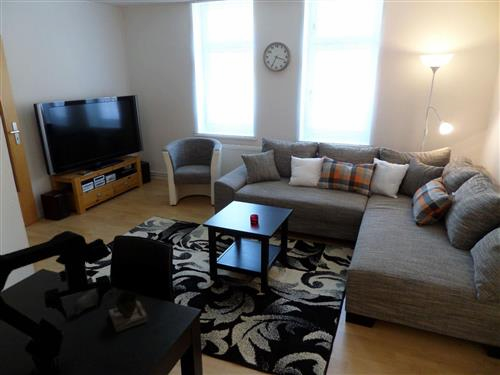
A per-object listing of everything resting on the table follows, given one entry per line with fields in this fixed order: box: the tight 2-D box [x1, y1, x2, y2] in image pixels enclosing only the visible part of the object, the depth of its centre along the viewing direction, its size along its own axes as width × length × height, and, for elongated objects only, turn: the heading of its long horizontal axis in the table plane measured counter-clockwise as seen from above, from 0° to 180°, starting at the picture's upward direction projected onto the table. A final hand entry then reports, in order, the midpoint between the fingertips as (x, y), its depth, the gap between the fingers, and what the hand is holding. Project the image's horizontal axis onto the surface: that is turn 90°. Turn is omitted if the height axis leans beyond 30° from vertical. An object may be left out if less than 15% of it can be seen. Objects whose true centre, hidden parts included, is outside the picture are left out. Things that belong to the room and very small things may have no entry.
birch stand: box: [109, 300, 149, 333], centre depth 125 cm, size 11×11×2 cm
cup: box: [114, 291, 138, 318], centre depth 124 cm, size 8×7×8 cm
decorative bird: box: [73, 279, 114, 316], centre depth 132 cm, size 5×16×7 cm, turn 152°
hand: (82, 313), depth 110 cm, fingers open, 9 cm apart
